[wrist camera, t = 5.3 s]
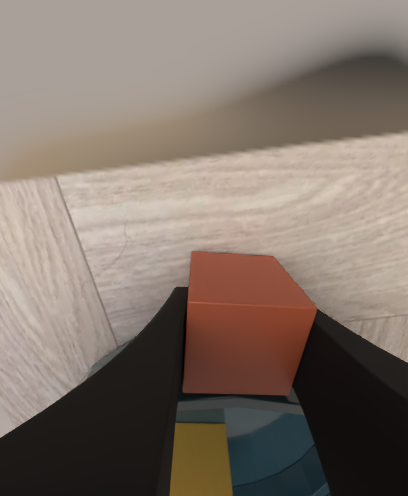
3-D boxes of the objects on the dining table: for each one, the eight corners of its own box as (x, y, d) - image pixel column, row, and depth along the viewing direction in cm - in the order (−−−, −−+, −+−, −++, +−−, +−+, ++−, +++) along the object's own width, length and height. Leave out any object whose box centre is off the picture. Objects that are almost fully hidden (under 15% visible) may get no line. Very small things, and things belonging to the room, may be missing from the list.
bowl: (92, 487, 18) (60, 583, 14) (50, 307, 11) (-38, 389, 7) (303, 488, 19) (332, 578, 15) (384, 322, 12) (481, 404, 8)
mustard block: (167, 454, 16) (157, 544, 12) (168, 421, 14) (157, 512, 10) (219, 455, 16) (226, 544, 12) (225, 422, 14) (235, 512, 11)
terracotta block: (187, 318, 11) (182, 393, 7) (191, 250, 10) (187, 301, 6) (259, 321, 11) (289, 396, 8) (273, 256, 10) (318, 307, 6)
